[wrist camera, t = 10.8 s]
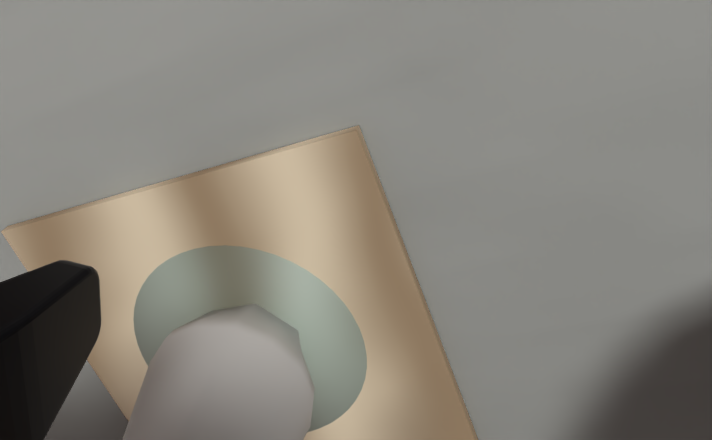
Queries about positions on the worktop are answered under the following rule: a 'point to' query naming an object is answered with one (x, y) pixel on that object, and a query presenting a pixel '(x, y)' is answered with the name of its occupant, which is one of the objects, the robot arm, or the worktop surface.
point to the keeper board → (269, 281)
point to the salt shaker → (226, 381)
